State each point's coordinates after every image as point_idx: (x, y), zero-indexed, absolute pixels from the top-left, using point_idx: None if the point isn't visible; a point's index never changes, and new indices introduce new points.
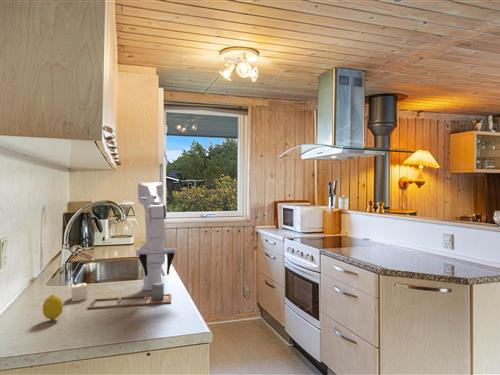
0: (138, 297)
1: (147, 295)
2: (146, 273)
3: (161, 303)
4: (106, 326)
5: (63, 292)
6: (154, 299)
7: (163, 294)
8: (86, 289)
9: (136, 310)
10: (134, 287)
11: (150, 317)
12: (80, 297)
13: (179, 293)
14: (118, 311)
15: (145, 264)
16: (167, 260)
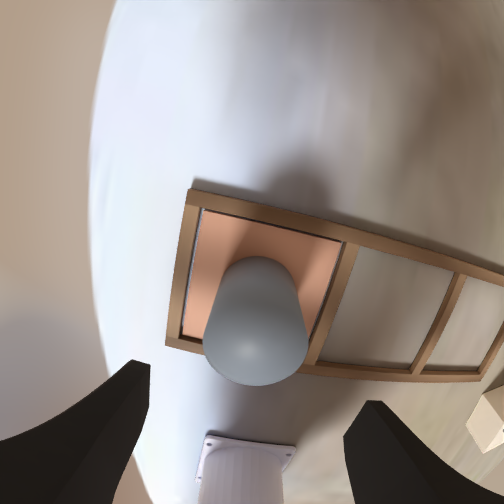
0: (343, 366)
1: (297, 371)
2: (382, 413)
3: (248, 201)
4: (496, 40)
5: (477, 450)
6: (282, 268)
7: (217, 290)
8: (498, 415)
9: (402, 155)
10: (307, 477)
11: (345, 10)
12: (498, 394)
13: (125, 352)
14: (469, 191)
15: (438, 484)
16: (54, 492)
